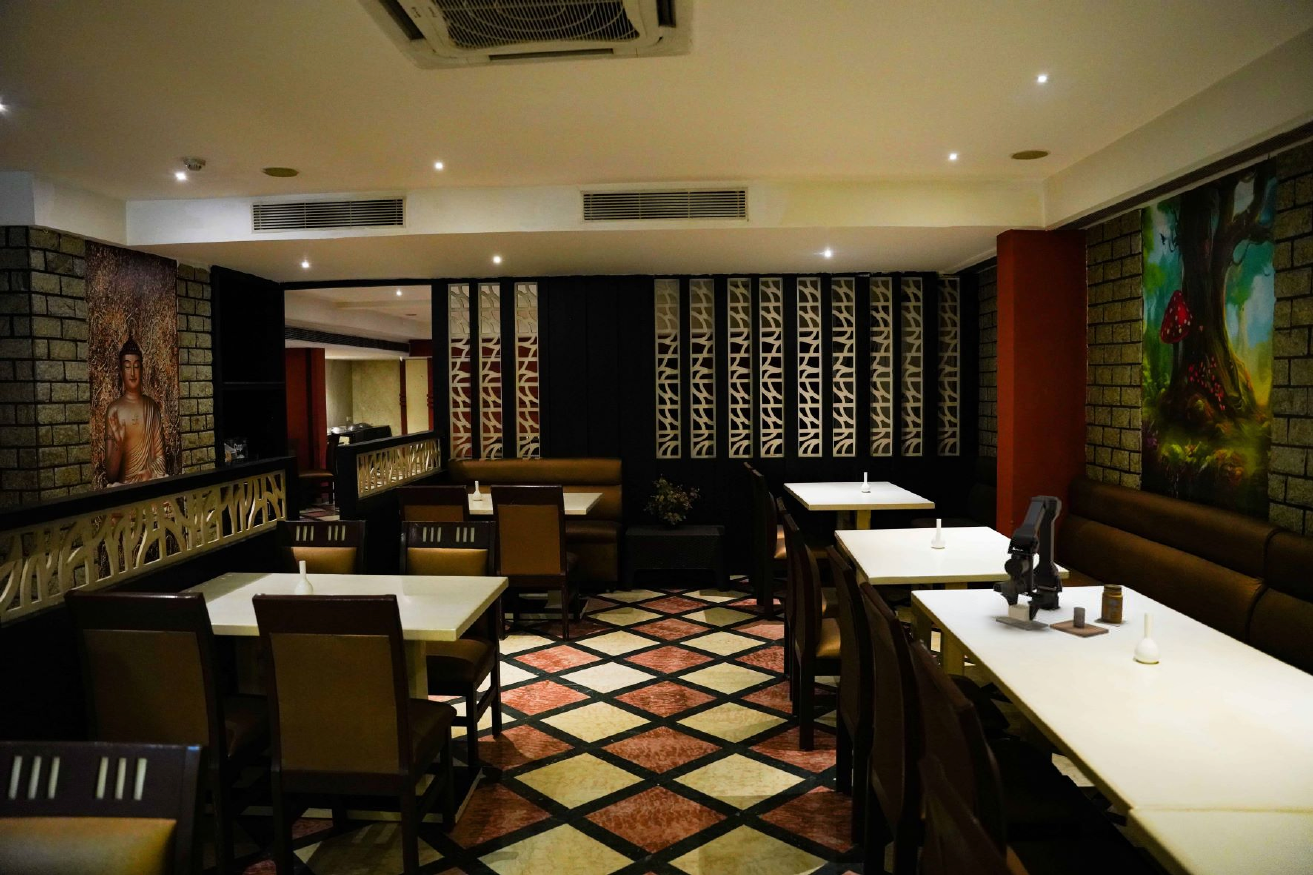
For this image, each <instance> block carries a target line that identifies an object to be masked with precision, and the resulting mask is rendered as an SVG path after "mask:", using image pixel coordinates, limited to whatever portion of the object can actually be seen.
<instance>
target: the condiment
mask: <svg viewBox="0 0 1313 875" xmlns="http://www.w3.org/2000/svg"><path fill="white" fill-rule="evenodd" d="M1122 593H1123V587H1122V586H1121V585H1117V584H1112V583H1111V584H1110V583H1106V584H1104V586H1103V592H1102V593H1101V609H1100V610H1101V611H1100V617H1099V618H1097V619H1095V620H1094V622H1095V623H1099V624H1102V625H1103V624H1104V625H1109V626H1113V627H1114V626H1115V627H1119V626H1122V625H1124V624H1125V623H1126V622H1127V620H1124V619H1123V604H1124V595H1123V594H1122Z"/></svg>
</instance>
